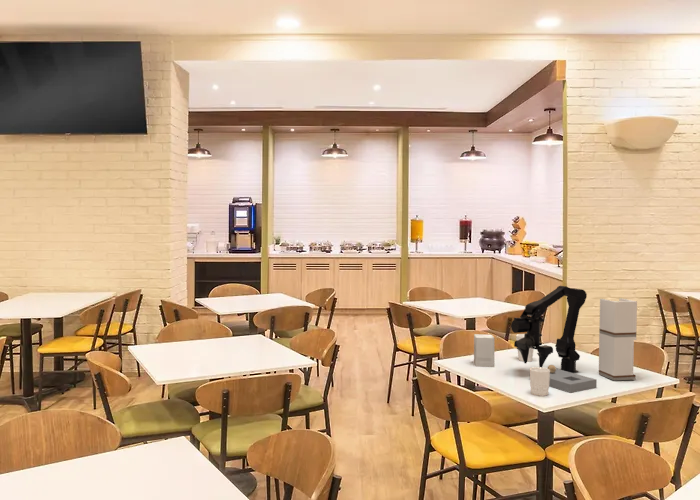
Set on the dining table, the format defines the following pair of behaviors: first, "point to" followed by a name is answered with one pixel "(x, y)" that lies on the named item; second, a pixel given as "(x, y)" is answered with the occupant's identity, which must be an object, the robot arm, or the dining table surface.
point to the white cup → (539, 381)
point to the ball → (552, 368)
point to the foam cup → (520, 352)
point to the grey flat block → (570, 381)
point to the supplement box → (483, 350)
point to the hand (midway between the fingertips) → (532, 365)
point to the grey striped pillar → (617, 338)
